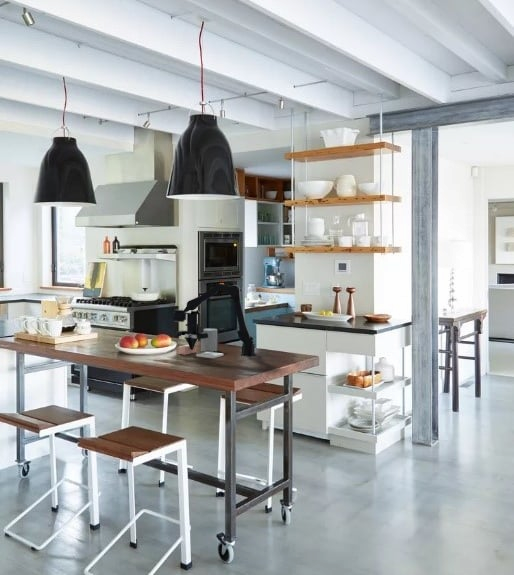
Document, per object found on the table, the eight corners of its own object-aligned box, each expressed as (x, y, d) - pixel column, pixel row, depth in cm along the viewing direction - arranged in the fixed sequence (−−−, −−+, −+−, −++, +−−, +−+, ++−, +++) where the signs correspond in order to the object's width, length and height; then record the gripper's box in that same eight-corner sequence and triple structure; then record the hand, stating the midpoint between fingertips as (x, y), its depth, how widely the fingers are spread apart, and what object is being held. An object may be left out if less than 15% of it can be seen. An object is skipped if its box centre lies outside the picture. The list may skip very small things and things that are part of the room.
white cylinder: (209, 352, 365) (209, 331, 364) (197, 350, 371) (197, 329, 370) (220, 350, 373) (220, 329, 372) (208, 348, 378) (208, 327, 377)
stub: (195, 352, 364) (195, 344, 364) (184, 354, 356) (184, 347, 355) (189, 351, 367) (189, 344, 366) (178, 353, 358) (178, 346, 358)
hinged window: (223, 355, 354) (223, 353, 354) (212, 358, 346) (212, 355, 346) (207, 353, 360) (207, 351, 360) (196, 356, 351) (196, 353, 351)
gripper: (214, 321, 360) (213, 349, 361) (187, 319, 370) (187, 346, 371) (202, 323, 351) (202, 352, 352) (175, 321, 360) (175, 348, 361)
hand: (192, 349), depth 359 cm, fingers closed
